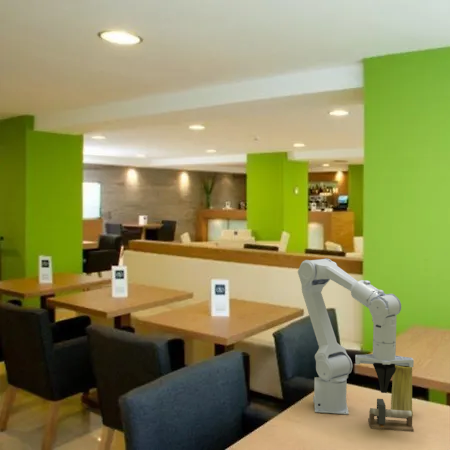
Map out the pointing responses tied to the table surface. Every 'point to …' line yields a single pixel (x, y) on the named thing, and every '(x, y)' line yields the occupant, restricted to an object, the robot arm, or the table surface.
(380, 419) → the dark grey square frame
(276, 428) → the table surface
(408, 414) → the pipe stand
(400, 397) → the vase
